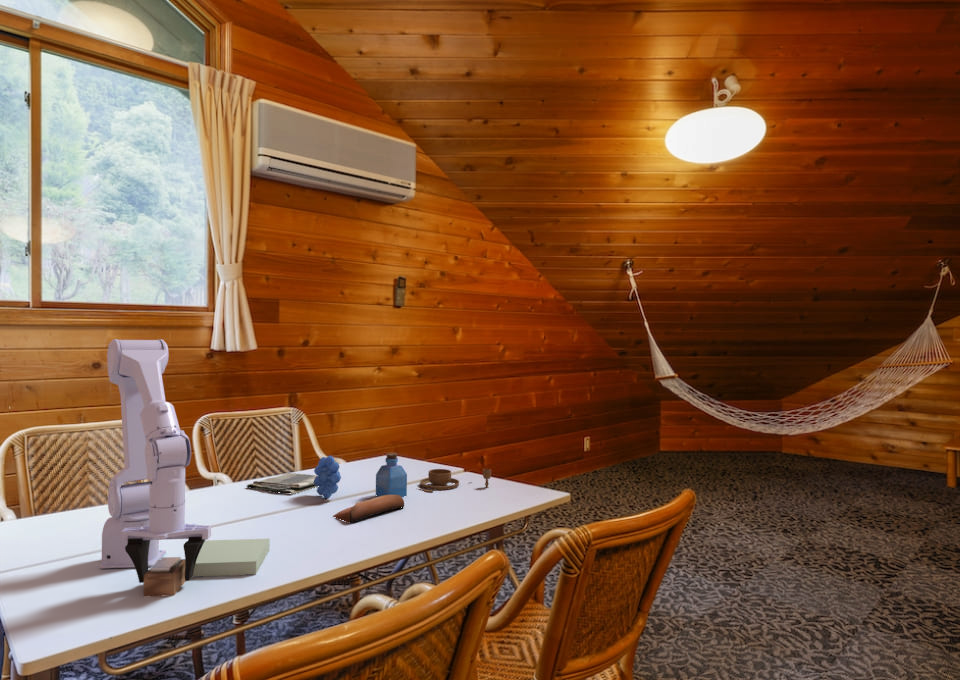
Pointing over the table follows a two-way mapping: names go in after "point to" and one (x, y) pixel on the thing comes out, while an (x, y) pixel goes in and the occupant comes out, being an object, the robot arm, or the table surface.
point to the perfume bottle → (391, 478)
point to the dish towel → (286, 483)
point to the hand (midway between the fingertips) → (166, 579)
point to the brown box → (164, 581)
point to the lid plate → (166, 565)
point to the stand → (231, 557)
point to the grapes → (327, 476)
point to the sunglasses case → (370, 508)
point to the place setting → (446, 479)
